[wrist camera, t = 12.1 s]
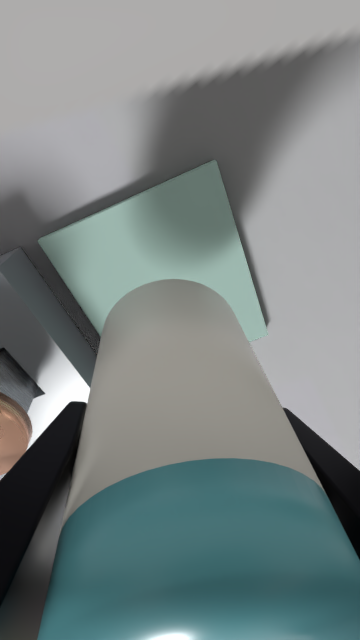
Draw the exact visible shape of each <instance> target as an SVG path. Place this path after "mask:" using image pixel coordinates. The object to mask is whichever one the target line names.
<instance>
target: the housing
mask: <svg viewBox="0 0 360 640" xmlns="http://www.w3.org/2000/svg"><path fill="white" fill-rule="evenodd" d="M3 347H4V348H5V349H6V350H7V351H8V352H9V353H10V354H11V356H12V357H13V358H14V359H15V360H16V361H17V362H18V363H19V365H20V366H21V367H22V368H23V369H24V370H25V371H26V372H27V373H28V375H29V376H30V377H31V378H32V379H33V380H34V381H35V382H36V384H37V385H38V386H39V387H38V389H37V391H36V394H35V396H34V398H33V401H32V403H31V406H30V408H29V410H28V413H27V414H28V416H29V418H30V420H31V423H32V430H33V432H32V437H31V439H30V442H29V445H28V447H27V450H28V448H29V447H30V446H31V445H32V444H33V443H34V442H35V440H36V439H37V438H38V437H39V436H40V435H41V434H42V433H43V431H44V430H45V429H46V428H47V427H48V426H49V425H50V423H51V422H52V421H53V420H54V419H55V418H56V417H57V415H58V414H59V413H60V412H61V411H62V410H63V409H64V408H65V406H66V405H67V404H68V403H69V402H71V401H84V402H86V403H87V401H88V397H89V392H90V387H91V382H92V378H93V373H94V368H95V363H96V359H97V355H96V354H95V353H94V351H93V350H92V348H91V347H90V345H89V344H88V343H87V341H86V340H85V338H84V337H83V335H82V334H81V333H80V331H79V330H78V328H77V327H76V325H75V324H74V322H73V321H72V320H71V318H70V317H69V315H68V314H67V312H66V311H65V310H64V308H63V307H62V305H61V304H60V302H59V301H58V300H57V298H56V297H55V295H54V294H53V292H52V291H51V290H50V288H49V287H48V285H47V284H46V282H45V281H44V280H43V278H42V277H41V275H40V274H39V272H38V271H37V270H36V268H35V267H34V265H33V264H32V262H31V261H30V260H29V258H28V257H27V255H26V254H25V252H24V251H23V249H22V248H21V247H19V248H17V249H15V250H12V251H10V252H8V253H6V254H3V255H1V256H0V349H1V348H3ZM27 450H26V451H27Z"/></svg>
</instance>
